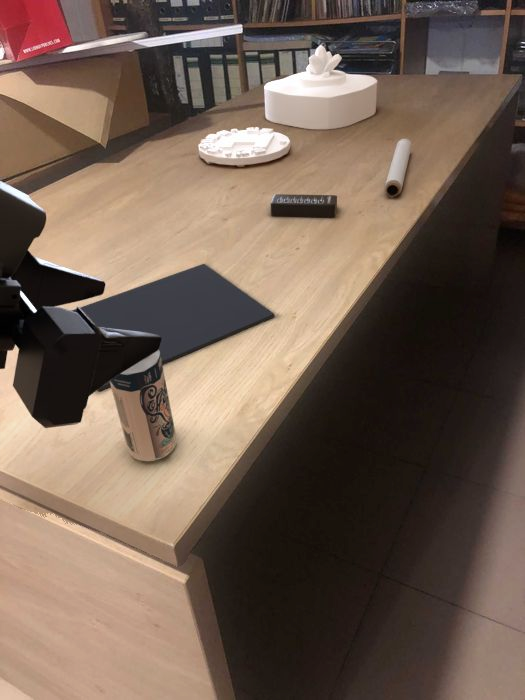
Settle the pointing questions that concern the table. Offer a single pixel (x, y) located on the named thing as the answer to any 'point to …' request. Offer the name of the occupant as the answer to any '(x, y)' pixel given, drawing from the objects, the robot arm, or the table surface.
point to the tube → (398, 168)
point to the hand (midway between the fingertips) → (129, 313)
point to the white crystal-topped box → (321, 96)
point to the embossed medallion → (243, 146)
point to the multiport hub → (304, 205)
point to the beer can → (145, 409)
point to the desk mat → (181, 311)
